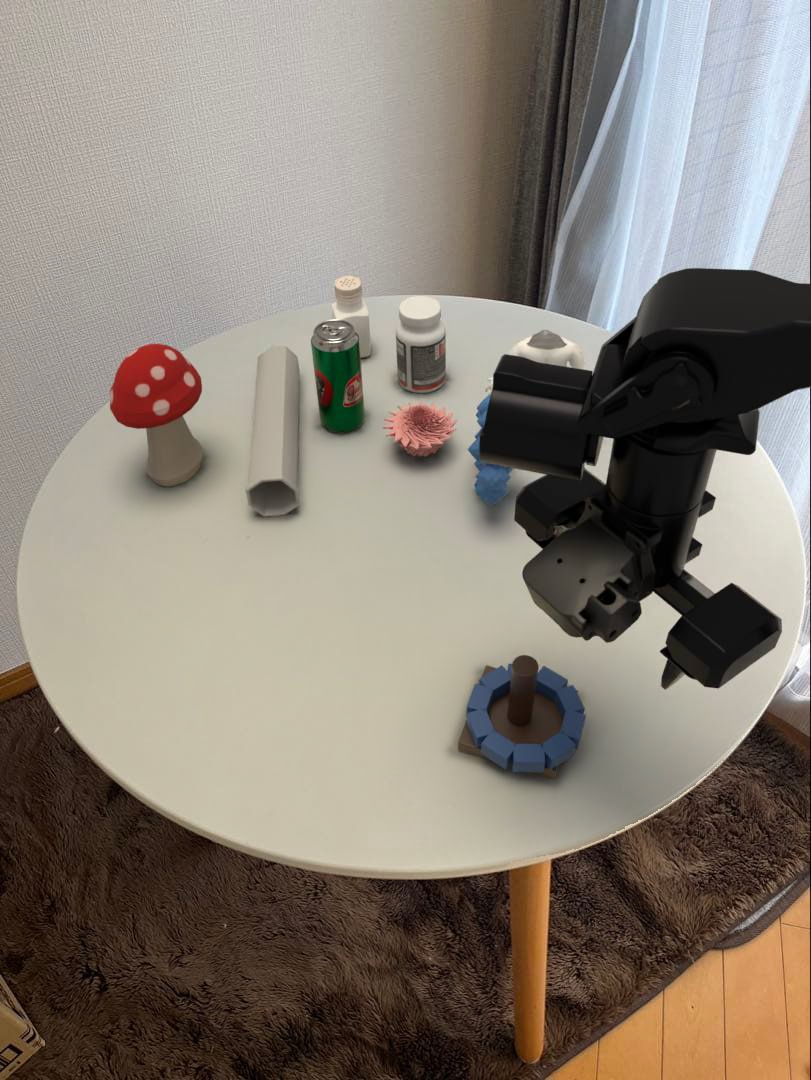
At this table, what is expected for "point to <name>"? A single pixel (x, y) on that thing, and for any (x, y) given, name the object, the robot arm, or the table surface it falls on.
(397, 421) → the flower
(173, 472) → the decorative mushroom
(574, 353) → the toy creature
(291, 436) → the tube
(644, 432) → the robot arm
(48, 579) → the table surface
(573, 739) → the ring
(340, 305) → the pepper shaker
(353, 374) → the soda can
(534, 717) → the post
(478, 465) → the grapes
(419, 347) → the pill bottle
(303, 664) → the table surface
